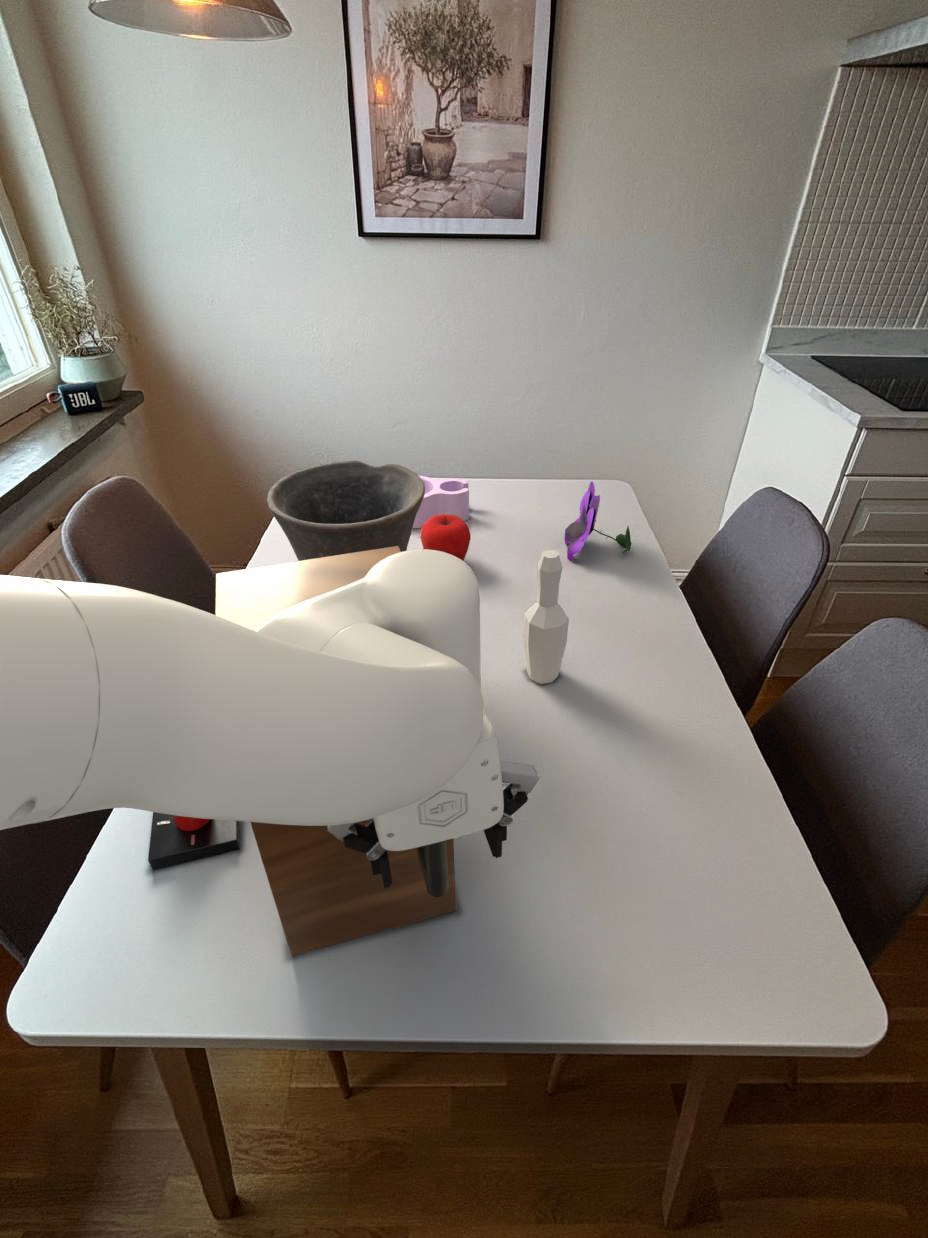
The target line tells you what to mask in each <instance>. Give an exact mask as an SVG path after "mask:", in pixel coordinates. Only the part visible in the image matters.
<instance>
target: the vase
mask: <svg viewBox="0 0 928 1238" xmlns="http://www.w3.org/2000/svg"><path fill="white" fill-rule="evenodd" d="M419 476H420V475H419V474H418V473H417V472H415V471H413V470H411V469H409V468H408V467H406V466H404V465H401V464H398V463H397V464H395V463H387V464H384V465H380V466H375V465H369V464H367V463H365V462H362V461H360V460H342V461H340V460H339V461H332V462H328V463H321V464H317V465H314V466H310V467H305V468H303V469H301V470H297V471H295V472H292V473H290V474H288V475H286V476H283V477H282V478H280V479H279V480H277V481H276V482H275V483H274V485H273V486H272V487H271V488H270V489H269V491H268V494H267V498H266V502H267V507H268V509H269V511H270V513H271V514H272V516H273V517H274V519H275V520H276V522H277V524H278V525H279V526H280V528H281V530H282V531H283V533H284V535H285V536H286V538H287V540H288V542H289V544H290V546H291V548H292V550H293V552H294V555H295V557H296V559H297V561H302V560H309V559H315V558H322V557H328V556H335V555H341V554H348V553H355V552H361V551H368V550H374V549H381V548H387V547H394V546H399V548H400V551H401V552H404V551H408V546H409V542H410V538H411V536H412V532H413V529H414V528H413V524H414V520H415V517H416V514H417V512H418V510H419V508H420V505H421V503H422V500H423V497H424V494H425V485H424V482H423V480H422V479H421V478H420V477H419Z"/></svg>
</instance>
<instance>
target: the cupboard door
mask: <svg viewBox="0 0 928 1238" xmlns="http://www.w3.org/2000/svg"><path fill="white" fill-rule="evenodd" d="M367 821H368V820H364V821H360V822H357V824H360V825H364V824H365V823H366V822H367ZM249 823H250V826H251V829H252V833H253V836H254V839H255V842H256V845H257V849H258V853H259V855H260V858H261V862H262V865H263V868H264V871H265V874H266V878H267V881H268V885H269V888H270V891H271V894H272V898H273V901H274V904H275V907H276V909H277V914H278V917H279V920H280V923H281V926H282V930H283V934H284V937H285V940H286V943H287V946H288V949H289V952H290V956H292V957H294V956H297V955H301V954H305V953H307V952H312V951H315V950H318V949H319V950H320V949H322V948H323V949H324V948H327V947H330V946H333V945H337V944H341V943H344V942H348V941H352V940H355V939H358V938H363V937H366V936H369V935H373V934H377V933H380V932H385V931H388V930H392V929H395V928H399V927H403V926H406V925H410V924H413V923H417V922H420V921H424V920H427V919H431V918H435V917H439V916H442V915H446V914H450V913H453V912H456V911H457V889H456V887H457V886H456V867H455V843H454V840H455V838H453V839H449V840H445V841H441V842H437V843H433V844H429V845H425V846H421V847H417V848H413V849H408V850H403V851H389V850H387V854H388V859H389V865H390V872H391V878H392V885H390V887H387V888H384V884H383V879H382V875H381V874H377V875H374V876H373V872H372V867H371V862H370V860H368V859H367V857H366V854H365V853H362V852H359V851H356V850H353V849H349V848H347V847H345V846H344V842H342V841H341V840H340V841H339V840H338V839H337V838H335V837H334V836H333V835H331V834H330V833H329V832H328V830H327V825H326V826H303V825H283V824H270V823H258V822H249Z"/></svg>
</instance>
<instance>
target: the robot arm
mask: <svg viewBox="0 0 928 1238" xmlns="http://www.w3.org/2000/svg"><path fill="white" fill-rule="evenodd" d="M480 598H481V597H480V587H479V582H478V579H477V577H476V575H475V573H474V571H473V569H472V568H471V567H470V566H469V565H468V564H467V563H466V562H465V561H462V560H461V559H459V558H457V557H455V556H453V555H451V554H448V553H445V552H441V551H437V550H426V549H423V548H422V549H421V548H420V549H409V550H407V551H404V552H400V553H396V554H393V555H391V556H388V557H387V558H385V559H383V560H381V561H380V562H378V563H377V564H376V565H374V566H373V567H372V568H371V569H370V570H369V572H368V573H367V575H366V576H365V577H364V578H362V579H360V580H358V581H355V582H353V583H351V584H348V585H346V586H343V587H340V588H338V589H335V590H332V591H330V592H327V593H324V594H322V595H319V596H316V597H313V598H310V599H308V600H305V601H302V602H300V603H297V604H295V605H293V606H290V607H288V608H286V609H284V610H282V611H281V612H279V613H277V614H275V615H274V616H272V617H271V618H269V619H268V620H267V621H266V622H265V623H263V624H262V625H261V626H260V627H259V628H258V629H257V630H256V631H254V630H251V629H248V628H246V627H243V626H241V625H238V624H236V623H233V622H231V621H228V620H226V619H223V618H221V617H218V616H216V615H215V614H213V613H211V612H208V611H206V610H203V609H199V608H197V607H194V606H191V605H188V604H187V603H186V604H185V603H183V602H179V601H176V600H173V599H169V598H166V597H162V596H160V595H156V594H152V593H148V592H145V591H142V590H137V589H134V588H129V587H124V586H119V585H113V584H105V583H95V582H81V581H68V580H59V579H48V578H35V577H25V576H16V575H5V574H0V831H3V830H7V829H12V828H17V827H21V826H26V825H34V824H40V823H43V822H48V821H53V820H57V819H62V818H66V817H71V816H75V815H81V814H85V813H89V812H91V813H92V812H94V811H95V812H96V811H101V810H108V809H122V808H123V809H134V810H139V811H146V812H151V813H153V812H157V813H163V814H169V815H176V816H184V817H193V818H203V819H215V820H231V821H239V822H248V823H250V822H258V823H270V824H283V825H303V826H326V825H327V830H328V832H329V833H330V834H331V835H333V836H334V837H335V838H337V839H338V840H339V841H340V840H341V841H342V842H344V846H345V847H347V848H349V849H353V850H356V851H359V852H362V853H365V854H366V857H367V859H368V860H370V862H371V867H372V872H373V876H374V875H377V874H381V875H382V879H383V884H384V888H387V887H390V885H392V878H391V872H390V865H389V859H388V854H387V850H389V851H403V850H408V849H413V848H417V847H421V846H425V845H429V844H433V843H437V842H441V841H445V840H449V839H453V838H454V839H457V838H460V837H464V836H467V835H470V834H474V833H478V832H481V831H483V834H484V836H485V839H486V842H487V844H488V847H489V849H490V852H491V856H492V857H493V858H495V859H498V858H502V857H503V842H507V841H508V840H507V839H508V826H510V825H511V824H512V823H513V820H514V819H513V815H514V814H515V813H516V812H517V811H519V810H520V809H521V808H522V807H523V806H524V805H525V804H526V803H527V802H528V800H529V797H528V796H529V794H531V793H532V792H533V790H534V788H535V787H536V786H537V784H538V782H539V781H540V775H539V773H538V772H537V770H536V768H535V766H534V765H531V764H526V763H518V762H512V761H503V760H500V754H499V748H498V743H497V738H496V734H495V730H494V728H493V724H492V722H491V721H490V719H489V718H488V716H487V714H486V712H485V709H484V707H485V706H484V698H483V694H482V676H481V675H482V672H481V671H482V670H481V669H482V668H481V665H482V663H481V662H482V661H481V599H480ZM503 784H508V785H507V786H506V787H505V788H503ZM364 820H368V821H367V822H366V823H365V824H364V825H360V824H357V822H360V821H364Z"/></svg>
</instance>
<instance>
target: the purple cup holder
mask: <svg viewBox="0 0 928 1238" xmlns="http://www.w3.org/2000/svg"><path fill="white" fill-rule="evenodd" d="M418 476H419V477H420V478H421V479H422V480H423V482H424V485H425V494H424V497H423V500H422V503H421V505H420V508H419V510H418V512H417V514H416V517H415V520H414V524H413V528H412V529H420V528H421V529H422V526H423V524H424V523H425V522H427V521H428V520H429V519H430V518H431V517H433V516H436V515H442V514H447V515H455V516H458V517H459V518H461V519H462V520H463V521H465V522H466V521H467V520H469V519H470V488H469V487H470V485H469V481H468V480H466V479H463V478H458V477H457V478H456V477H455V478H454V477H453V478H450V477H449V478H443V479H438V478H437V479H436V478H432V477H429V476H425V475H418Z"/></svg>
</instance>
